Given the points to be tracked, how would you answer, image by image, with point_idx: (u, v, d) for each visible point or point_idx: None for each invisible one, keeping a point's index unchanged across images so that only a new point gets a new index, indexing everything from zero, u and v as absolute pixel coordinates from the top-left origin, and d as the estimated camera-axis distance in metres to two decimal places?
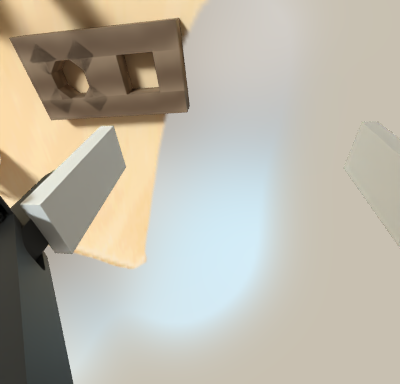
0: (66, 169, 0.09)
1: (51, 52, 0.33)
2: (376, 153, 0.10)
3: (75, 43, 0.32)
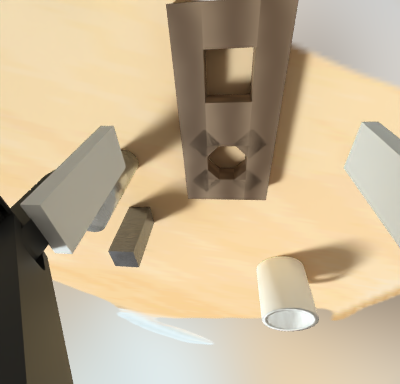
0: (66, 169, 0.09)
1: (200, 170, 0.33)
2: (376, 153, 0.10)
3: (192, 144, 0.31)
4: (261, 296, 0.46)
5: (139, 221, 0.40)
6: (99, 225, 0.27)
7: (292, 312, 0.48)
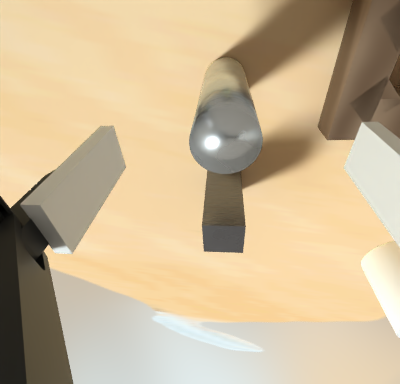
0: (66, 169, 0.09)
1: (374, 79, 0.19)
2: (376, 153, 0.10)
3: (387, 17, 0.16)
4: (390, 295, 0.32)
5: (232, 183, 0.26)
6: (244, 157, 0.13)
7: None
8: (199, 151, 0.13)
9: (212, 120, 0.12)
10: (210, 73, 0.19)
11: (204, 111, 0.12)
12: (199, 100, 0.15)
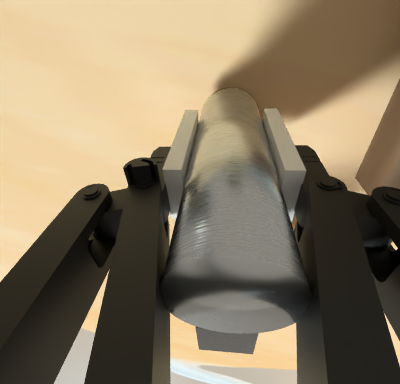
0: (182, 143, 0.11)
1: None
2: (267, 133, 0.12)
3: None
4: None
5: None
6: (270, 320, 0.07)
7: None
8: (181, 307, 0.07)
9: (204, 274, 0.05)
10: (208, 118, 0.12)
11: (188, 248, 0.06)
12: (187, 179, 0.09)
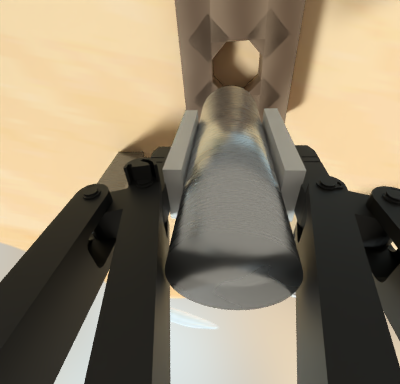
0: (182, 143, 0.11)
1: (202, 83, 0.26)
2: (267, 133, 0.12)
3: (192, 40, 0.24)
4: None
5: None
6: (265, 295, 0.07)
7: None
8: (184, 283, 0.07)
9: (205, 248, 0.06)
10: (208, 114, 0.13)
11: (191, 226, 0.06)
12: (189, 170, 0.10)
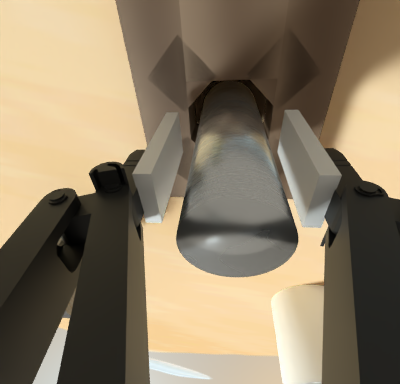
0: (156, 147, 0.11)
1: None
2: (289, 135, 0.12)
3: (154, 77, 0.14)
4: (281, 349, 0.30)
5: None
6: (265, 260, 0.08)
7: None
8: (193, 251, 0.08)
9: (213, 214, 0.07)
10: (210, 106, 0.14)
11: (200, 196, 0.07)
12: (194, 154, 0.11)
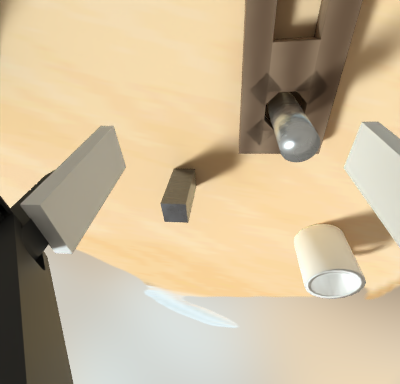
0: (66, 169, 0.09)
1: (256, 120, 0.33)
2: (376, 153, 0.10)
3: (252, 90, 0.31)
4: (303, 262, 0.46)
5: (186, 180, 0.41)
6: (308, 152, 0.25)
7: (333, 280, 0.47)
8: (284, 149, 0.25)
9: (295, 133, 0.24)
10: (278, 103, 0.30)
11: (290, 129, 0.24)
12: (278, 121, 0.27)
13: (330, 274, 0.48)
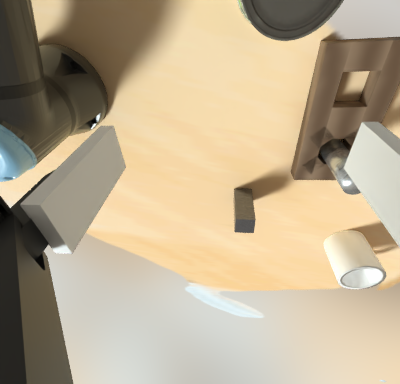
0: (66, 169, 0.09)
1: (311, 157, 0.44)
2: (376, 153, 0.10)
3: (312, 137, 0.42)
4: (335, 260, 0.57)
5: (248, 198, 0.52)
6: None
7: (358, 275, 0.59)
8: (345, 186, 0.36)
9: None
10: (331, 147, 0.42)
11: None
12: (337, 164, 0.39)
13: (355, 270, 0.60)
